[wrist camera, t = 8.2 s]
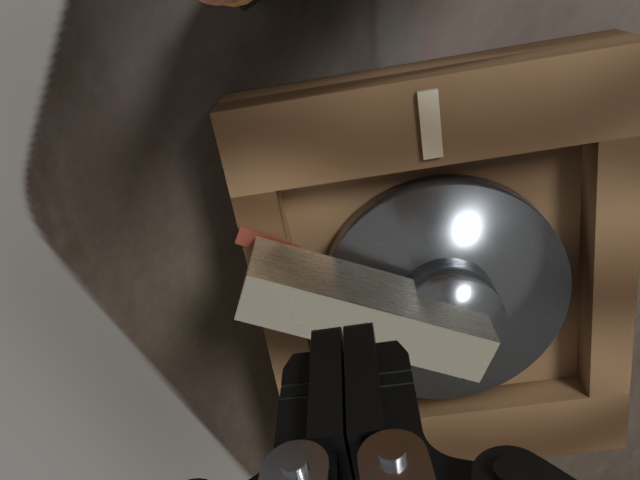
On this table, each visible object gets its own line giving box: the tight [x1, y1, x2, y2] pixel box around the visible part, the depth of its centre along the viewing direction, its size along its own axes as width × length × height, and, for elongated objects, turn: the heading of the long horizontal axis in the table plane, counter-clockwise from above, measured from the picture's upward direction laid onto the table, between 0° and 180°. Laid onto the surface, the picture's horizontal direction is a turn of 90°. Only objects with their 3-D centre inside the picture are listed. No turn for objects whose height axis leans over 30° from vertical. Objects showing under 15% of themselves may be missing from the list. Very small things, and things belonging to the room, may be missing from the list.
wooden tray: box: [209, 29, 640, 461], centre depth 25 cm, size 18×15×3 cm
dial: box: [234, 174, 572, 399], centre depth 23 cm, size 13×10×5 cm
